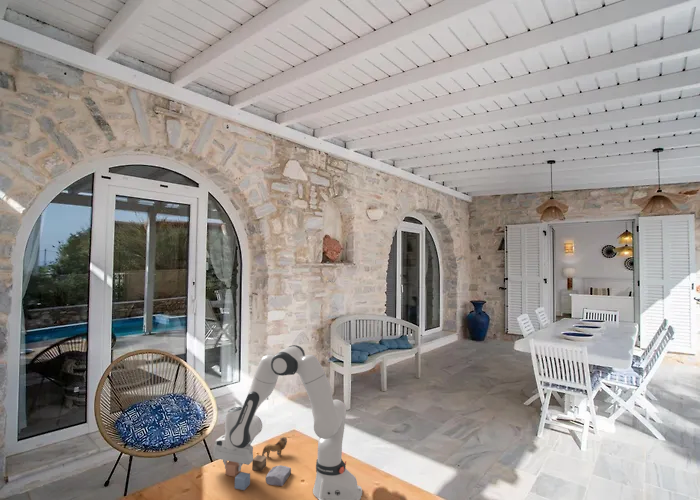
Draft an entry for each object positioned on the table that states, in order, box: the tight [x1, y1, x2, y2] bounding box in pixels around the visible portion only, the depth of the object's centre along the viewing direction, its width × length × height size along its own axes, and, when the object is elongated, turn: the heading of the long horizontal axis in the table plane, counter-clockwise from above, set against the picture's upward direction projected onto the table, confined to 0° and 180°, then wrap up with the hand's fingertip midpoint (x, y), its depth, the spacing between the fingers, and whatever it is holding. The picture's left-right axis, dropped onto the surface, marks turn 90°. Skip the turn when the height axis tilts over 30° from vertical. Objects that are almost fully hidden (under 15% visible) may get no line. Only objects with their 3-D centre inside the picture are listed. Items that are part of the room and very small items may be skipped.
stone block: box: [265, 465, 292, 487], centre depth 189 cm, size 12×5×10 cm
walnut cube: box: [251, 454, 267, 472], centre depth 197 cm, size 5×5×5 cm
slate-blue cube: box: [234, 471, 251, 491], centre depth 181 cm, size 5×5×5 cm
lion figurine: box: [261, 436, 288, 460], centre depth 208 cm, size 15×5×9 cm, turn 123°
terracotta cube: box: [225, 461, 241, 478], centre depth 192 cm, size 5×5×5 cm
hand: (232, 469), depth 192 cm, fingers closed on terracotta cube, 5 cm apart
